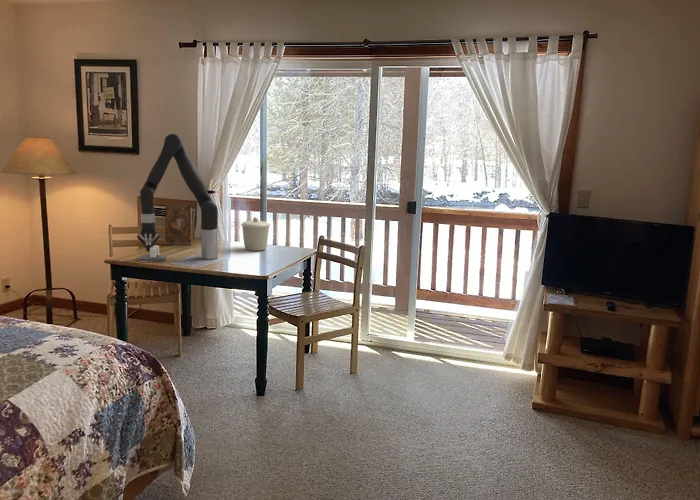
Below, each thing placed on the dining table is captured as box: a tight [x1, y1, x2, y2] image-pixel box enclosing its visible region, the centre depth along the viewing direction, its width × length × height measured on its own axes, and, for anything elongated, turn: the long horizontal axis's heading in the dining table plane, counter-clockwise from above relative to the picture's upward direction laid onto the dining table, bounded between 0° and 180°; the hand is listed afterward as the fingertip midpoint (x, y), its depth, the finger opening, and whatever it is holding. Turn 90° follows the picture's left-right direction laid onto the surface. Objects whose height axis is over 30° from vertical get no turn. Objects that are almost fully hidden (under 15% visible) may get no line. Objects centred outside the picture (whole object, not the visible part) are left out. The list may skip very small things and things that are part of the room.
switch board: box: [138, 254, 168, 262], centre depth 317 cm, size 14×10×2 cm
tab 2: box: [152, 245, 160, 255], centre depth 319 cm, size 3×4×5 cm
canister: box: [240, 216, 271, 252], centre depth 356 cm, size 18×18×21 cm
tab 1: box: [149, 247, 156, 258], centre depth 314 cm, size 3×4×5 cm
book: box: [164, 205, 193, 247], centre depth 360 cm, size 16×6×25 cm, turn 105°
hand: (148, 251), depth 318 cm, fingers closed
